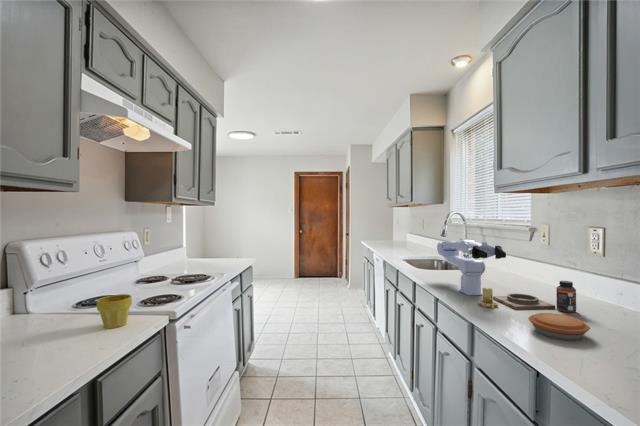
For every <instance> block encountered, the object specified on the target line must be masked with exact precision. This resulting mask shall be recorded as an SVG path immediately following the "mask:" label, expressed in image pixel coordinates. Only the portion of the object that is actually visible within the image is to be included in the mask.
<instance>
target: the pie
mask: <svg viewBox="0 0 640 426" xmlns="http://www.w3.org/2000/svg"><path fill="white" fill-rule="evenodd" d="M528 321H529V322H530V323H531V324H532V326H533V327H534V329H535V331H537V333H539V334H541V335H543V336H545V337H548V338H552V339H557V340H562V341H577V340H581V339H582V337H583V336H584V335H585V334H586V333H587V332H589V331H590V330H591V327H590V326H589V325H588V324H587V323H585V322H583V321H582V320H580V319H578V318H576V317H573V316H570V315H565V314H561V313H560V314H559V313H553V312H540V313H539V312H538V313H535V314H532V315H529V317H528Z"/></svg>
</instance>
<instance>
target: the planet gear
mask: <svg viewBox="0 0 640 426" xmlns="http://www.w3.org/2000/svg"><path fill="white" fill-rule="evenodd" d="M482 293H483V295H482V299H481V300H477V301H476V302H477V306H478V307H482V308H484V309H486V308H489V309H490V308H491V309H495V308H498V309H499V303H498V301H494V299H493V296H494V295H493V288H489V287H483V288H482Z"/></svg>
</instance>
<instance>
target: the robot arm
mask: <svg viewBox="0 0 640 426" xmlns="http://www.w3.org/2000/svg"><path fill="white" fill-rule="evenodd" d="M436 250H437V253H438V255H439V256H441V257H443V259H444V260H445V261H446V262H447V263H448V264H451V265H452V266H456V267H458V270H459V271H460V272H461V276H460V289H459V290H458V291H459V292H461V293H463V294H465V295H467V296H483V291H482V277H481V276H483V274H484V273H485V271H486V265H485V262H484V260H482V259H488V258H491V257H494V259H495V260H497V259H498V260H499V259H505V258H507V253H506V251H504V250H503V247H502V246H501V245H494V247H493V246H492V245H488V242H485V241H483V242H481V243H480V242H477V240H476V239H473V240H472V239H468V238H465V239H464V238H459V239H457V240H446V241H439V242H438V243H437V244H436ZM460 252H462V253H463V254H464V253H467V254H468V255H471V257H472V259H468V258H466V257H462V256H460Z"/></svg>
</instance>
